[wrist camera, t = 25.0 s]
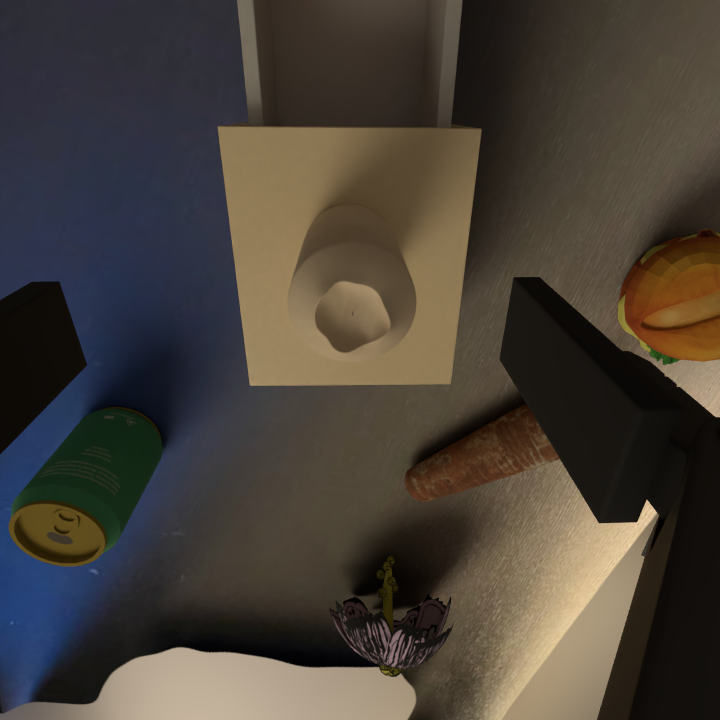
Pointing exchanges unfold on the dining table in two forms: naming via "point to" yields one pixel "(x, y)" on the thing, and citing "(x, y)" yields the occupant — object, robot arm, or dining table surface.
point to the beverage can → (87, 488)
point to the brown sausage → (482, 457)
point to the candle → (351, 286)
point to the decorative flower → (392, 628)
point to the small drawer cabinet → (340, 187)
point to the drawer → (350, 62)
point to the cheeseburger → (675, 299)
